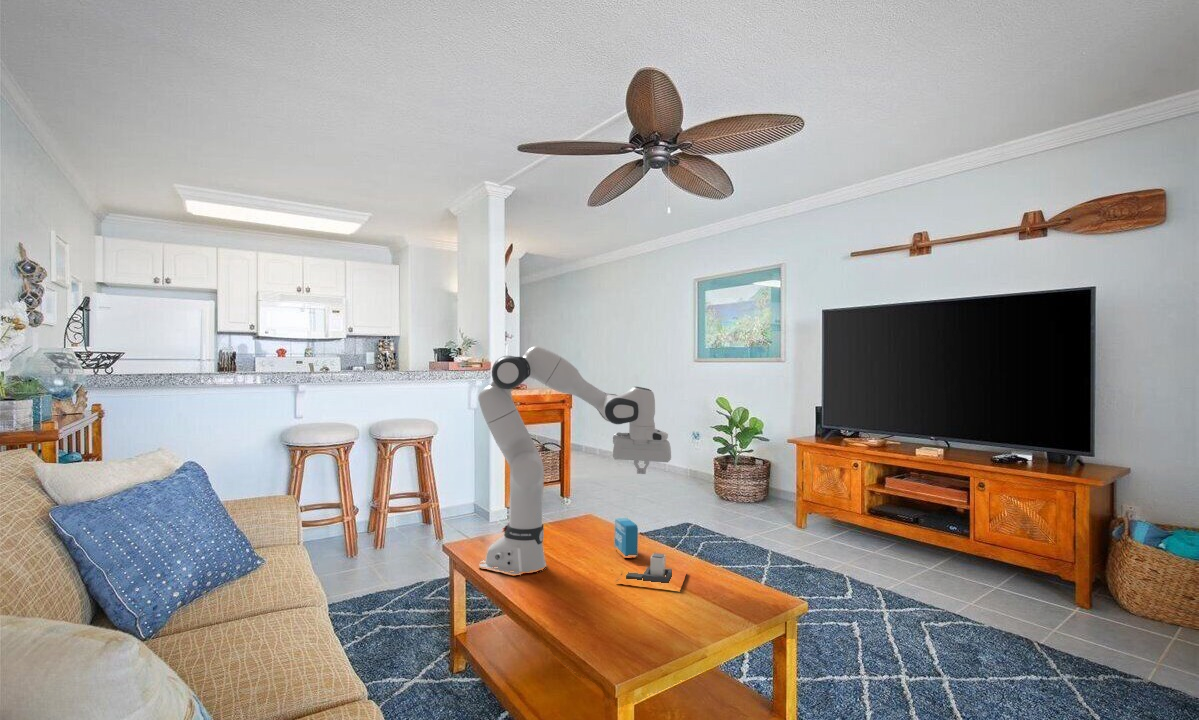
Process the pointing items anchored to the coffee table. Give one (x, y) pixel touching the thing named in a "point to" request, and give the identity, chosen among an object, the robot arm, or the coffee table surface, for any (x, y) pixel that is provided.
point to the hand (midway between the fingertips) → (641, 473)
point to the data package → (626, 536)
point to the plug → (657, 564)
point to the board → (651, 576)
